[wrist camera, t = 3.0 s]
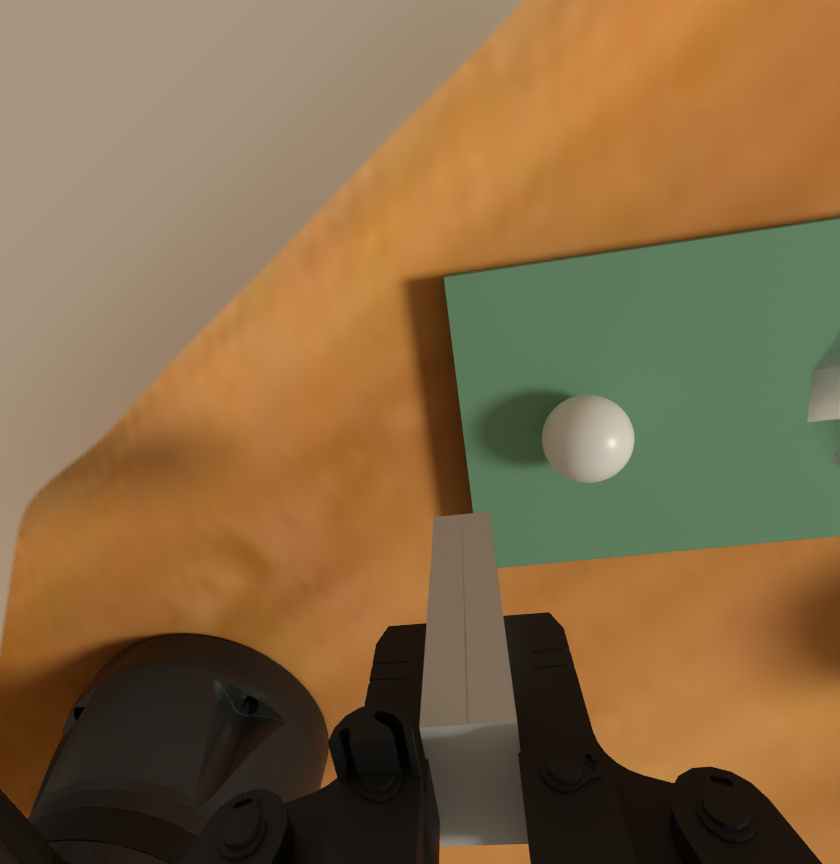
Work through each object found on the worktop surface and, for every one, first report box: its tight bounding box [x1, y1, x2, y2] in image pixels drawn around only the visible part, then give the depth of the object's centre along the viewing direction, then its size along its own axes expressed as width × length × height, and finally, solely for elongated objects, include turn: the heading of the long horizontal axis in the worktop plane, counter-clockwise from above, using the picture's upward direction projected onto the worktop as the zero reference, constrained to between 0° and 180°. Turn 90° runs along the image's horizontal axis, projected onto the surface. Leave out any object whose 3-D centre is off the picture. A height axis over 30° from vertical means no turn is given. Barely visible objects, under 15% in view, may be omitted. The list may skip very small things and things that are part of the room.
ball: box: [542, 395, 634, 483], centre depth 21 cm, size 4×4×4 cm
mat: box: [444, 217, 840, 568], centre depth 23 cm, size 24×14×2 cm, turn 98°
